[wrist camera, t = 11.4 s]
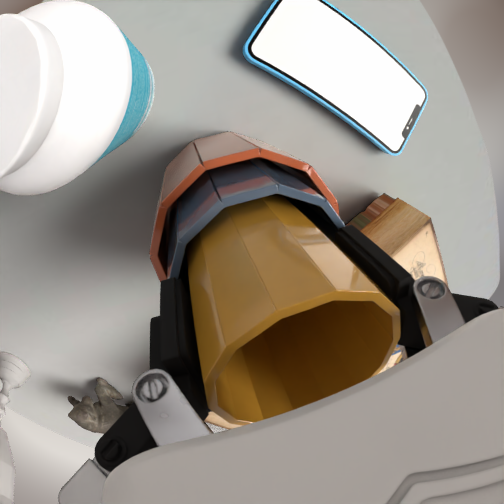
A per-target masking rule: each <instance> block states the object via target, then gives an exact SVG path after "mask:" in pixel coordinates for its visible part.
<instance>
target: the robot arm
mask: <svg viewBox="0 0 504 504" xmlns="http://www.w3.org/2000/svg"><path fill="white" fill-rule="evenodd" d="M335 243H336V244H337V245H338V246H339V247H340V248H341V249H342V250H343V251H344V252H345V253H346V254H347V255H348V256H349V257H350V258H351V259H352V260H353V261H354V262H355V263H356V264H357V265H358V266H359V267H360V268H361V269H362V270H363V271H364V272H365V273H366V274H367V275H368V276H369V277H370V278H371V279H372V280H373V282H374V283H375V284H376V285H377V286H378V287H379V288H380V289H381V290H382V291H383V292H384V293H385V294H386V295H387V296H388V297H389V298H390V300H391V301H392V302H393V303H394V304H395V305H396V306H397V307H398V308H399V310H400V327H401V336H400V339H399V341H398V343H397V344H398V345H400V349H401V354H402V358H403V361H402V362H401V363H399V364H397V365H395V366H393V367H391V368H389V369H387V370H385V371H383V372H381V373H379V374H377V375H375V376H373V377H371V378H369V379H367V380H365V381H363V382H361V383H358V384H356V385H354V386H352V387H350V388H347V389H345V390H343V391H341V392H338V393H336V394H333V395H331V396H329V397H326V398H324V399H321V400H319V401H316V402H313V403H311V404H308V405H306V406H303V407H300V408H297V409H295V410H292V411H289V412H286V413H283V414H280V415H277V416H274V417H271V418H268V419H265V420H261V421H258V422H255V423H251V424H248V425H244V426H240V427H237V428H233V429H229V430H226V431H222V432H218V433H213V432H212V430H211V429H210V428H209V426H208V425H207V424H206V423H205V419H206V418H207V417H208V415H209V412H212V411H211V410H210V409H209V408H208V407H207V401H206V396H205V390H204V385H203V379H202V373H201V367H200V361H199V354H198V348H197V341H196V334H195V327H194V320H193V312H192V304H191V302H190V299H189V297H188V295H187V292H186V290H185V287H184V285H183V282H182V280H181V279H179V280H176V278H175V277H173V278H169V279H166V280H162V281H161V292H160V316H158V317H154V318H152V319H151V322H150V370H148V371H146V372H143V373H142V374H141V375H139V376H138V377H137V379H136V380H135V381H134V383H133V386H132V391H131V393H132V397H133V400H134V402H133V403H132V404H131V405H130V406H129V408H128V409H127V410H126V411H125V412H124V413H123V414H122V415H121V416H120V417H119V419H118V420H117V421H116V422H115V423H114V424H113V425H112V426H111V427H110V428H109V429H108V431H107V432H106V433H105V434H104V435H103V436H102V437H101V438H100V439H99V441H98V442H97V444H96V447H95V457H94V459H93V460H91V459H88V460H87V461H86V462H85V463H84V465H83V466H82V467H81V468H80V469H79V470H78V471H77V472H76V473H75V474H74V475H73V476H72V478H71V479H70V480H69V481H68V482H67V483H66V484H65V485H64V486H63V487H62V488H61V490H60V492H59V495H58V501H59V504H504V307H502V306H500V308H498V307H497V306H496V305H495V304H494V303H493V302H492V301H490V300H487V299H484V298H478V297H471V296H465V295H459V294H453V293H451V292H450V290H449V288H448V286H447V285H446V283H445V282H444V281H442V280H441V279H439V278H437V277H433V276H424V277H420V278H418V279H417V280H416V281H415V280H414V279H413V278H412V275H411V274H410V273H409V272H407V271H406V270H405V269H404V268H403V267H402V266H401V265H400V264H398V263H397V262H396V261H395V260H394V259H393V258H392V257H390V256H389V255H388V254H387V253H386V252H385V251H383V250H382V249H381V248H380V247H379V246H378V245H376V244H375V243H374V242H373V241H372V240H370V239H369V238H368V237H367V236H365V235H364V234H363V233H362V232H361V231H359V230H358V229H357V228H356V227H354V226H353V225H348V226H344V227H341V228H339V229H338V232H336V233H335Z"/></svg>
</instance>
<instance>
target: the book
mask: <svg viewBox="0 0 504 504" xmlns="http://www.w3.org/2000/svg"><path fill="white" fill-rule="evenodd" d="M348 225H353V226H354V227H356V228H357V229H358V230H359V231H361V232H362V233H363V234H364V235H365V236H367V237H368V238H369V239H370V240H372V241H373V242H374V243H375V244H376V245H378V246H379V247H380V248H381V249H382V250H383V251H385V252H386V253H387V254H388V255H389V256H390V257H392V258H393V259H394V260H395V261H396V262H397V263H398V264H400V265H401V266H402V267H403V268H404V269H405V270H406V271H407V272H409V273H410V274H411V275H412V278H413V279H414V280H415V281H416V280H417V279H418V278H420V277H424V276H433V277H437V278H439V279H441V280H442V281H444V282H445V283H446V285H447V286H448V283H447V278H446V274H445V269H444V265H443V261H442V257H441V253H440V249H439V245H438V241H437V238H436V234H435V231H434V227H433V224H432V221H431V218H430V217H428V216H427V215H425V214H424V213H422V212H420V211H419V210H417V209H416V208H414V207H412V206H411V205H409V204H407V203H406V202H404V201H402V200H400V199H399V198H397V199H394V198H392V197H390V196H388V195H386V194H385V193H384V194H383V195H381V196H380V197H378V198H377V199H376V200H374V201H373V202H372V203H371V204H370V205H369V206H368V207H367V209H366V211H364V212H361V213H359V214H358V215H357V216H356V217H355V218H354V219H353V220H351V221H350V222H349V223H348V224H347V225H346V226H348ZM402 361H403V358H402V354H401V349H400V345H398V344H397V345H396V347H395V349H394V351H393V353H392V355H391V357H390V359H389V361H388V363H387V364H386V366H385V367H384V368H383V369H382V370H381V371H380V372H379V373H381V372H383V371H385V370H387V369H389V368H391V367H393V366H395V365H397V364H399V363H401V362H402ZM379 373H378V374H379ZM205 422H207V423H210V424H213V425H216V426H220V427H223V428H226V429H233V428H237V427H240V426H241V425H235V424H230V423H228V422H227V421H225V420H224V419H223V418H221V417H220V416H218V415H217V414H215V413H214V412H213V411H212V412H209V415H208V417H207V418H206V419H205Z"/></svg>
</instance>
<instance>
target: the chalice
mask: <svg viewBox="0 0 504 504" xmlns="http://www.w3.org/2000/svg"><path fill="white" fill-rule="evenodd" d="M30 376H31V373H30V370H29V368H28V367H27V366H26V365H25V363H24V362H22V361H21V360H20V359H19V358H17V357H15V356H14V355H12V354H9V353H5V352H1V353H0V379H1V380H2V383H3V388H2V390H1V391H0V504H14V502H13V496H14V481H15V466H14V462H13V456H12V452H11V449H10V445H9V441H8V437H7V433H6V432H5V431H4V430H3V429H2V428H1V420H2V418H3V416H4V415H6V412H5V405H6V404H7V403H8V402H10V400H9V398H8V397H9V391H10V389H12V388H19V387H21V386H22V385H23V384H24V383H25V382H26V380H28V379H29V378H30Z"/></svg>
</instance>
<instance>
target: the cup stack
mask: <svg viewBox="0 0 504 504" xmlns="http://www.w3.org/2000/svg"><path fill="white" fill-rule="evenodd" d="M273 194H280V195H284V196H286V197H287V198H288V199H289V200H290V201H292V202H293V203H294V204H295V205H296V206H297V207H298V208H299V209H300V210H301V211H302V212H303V213H305V214H306V215H307V216H308V217H309V218H310V219H311V220H312V221H313V222H314V223H315V224H316V225H317V226H318V227H319V228H320V229H321V230H322V231H324V232H325V233H326V234H327V235H328V236H329V237H330V238H331V239H332V240H333V241H334V242H335V233H336V232H338V229H339V228H341V227H344V226H346V225H345V224H344V223H343V221H342V220H341V218H340V217H339V207H338V203H337V200H336V198H335V197H334V196H333V194H332V193H331V191H330V190H329V189H328V187H327V186H326V184H325V183H324V182H323V180H322V179H321V178H320V176H319V175H318V174H317V172H316V171H315V170H314V168H313V167H312V166H310V165H309V164H308V163H306V162H304V161H302V160H300V159H298V158H296V157H294V156H292V155H290V154H288V153H286V152H284V151H282V150H280V149H278V148H276V147H274V146H271V145H269V144H267V143H265V142H263V141H260V140H257V139H254V138H251V137H248V136H244V135H241V134H238V133H234V132H231V131H230V132H228V131H227V132H223V133H219V134H215V135H211V136H207V137H203V138H199V139H196V140H194V142H193V141H191V142H190V143H189V144H188V145H187V146H186V147H185V148H184V149H183V150H182V151H181V152H180V153H179V154H178V155H177V156H176V157H175V158H174V159H173V160H172V161H171V162H170V163H169V164H168V165H167V168H166V170H165V173H164V177H163V182H162V186H161V190H160V194H159V199H158V204H157V209H156V215H155V221H154V227H153V233H152V239H151V246H150V253H149V254H150V259H151V262H152V264H153V266H154V269H155V271H156V273H157V276H158V278H159V280H160V282H161V281H162V280H166V279H169V278H173V277H175V278H176V280H179V279H181V280H182V282H183V285H184V287H185V290H186V292H187V295H188V297H189V299H190V302H191V296H190V288H189V279H188V270H187V260H186V245H187V243H188V242H189V241H190V240H191V239H192V238H194V237H195V236H196V235H197V234H198V233H199V232H200V231H201V230H202V229H203V228H204V227H205V226H206V225H207V224H208V223H209V222H210V221H211V220H212V219H213V218H214V217H215V216H216V215H217V214H218V213H219V212H220V211H221V210H223V209H224V208H225V207H228V206H232V205H235V204H239V203H243V202H246V201H250V200H254V199H258V198H261V197H265V196H269V195H273Z"/></svg>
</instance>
